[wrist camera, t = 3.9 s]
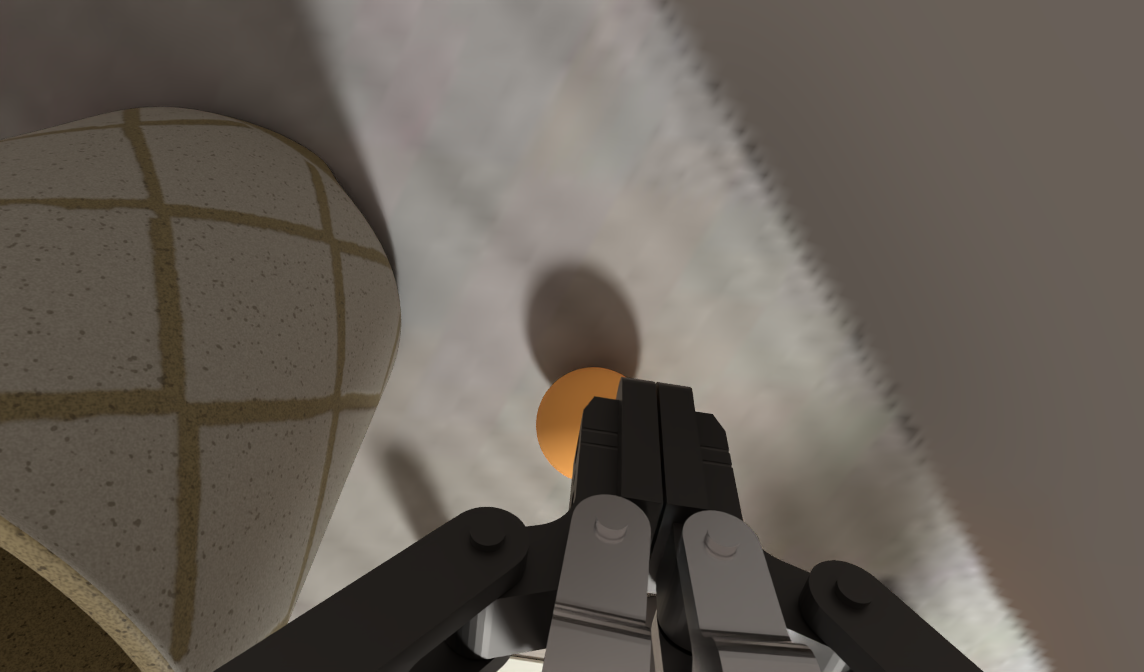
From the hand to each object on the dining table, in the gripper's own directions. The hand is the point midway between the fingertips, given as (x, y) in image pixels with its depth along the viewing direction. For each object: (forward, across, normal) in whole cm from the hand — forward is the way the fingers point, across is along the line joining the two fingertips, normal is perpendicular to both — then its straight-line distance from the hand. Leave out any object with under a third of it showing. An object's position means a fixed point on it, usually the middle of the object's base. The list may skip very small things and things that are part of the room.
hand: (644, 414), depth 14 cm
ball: (+13, 0, +11) cm, 17 cm away
